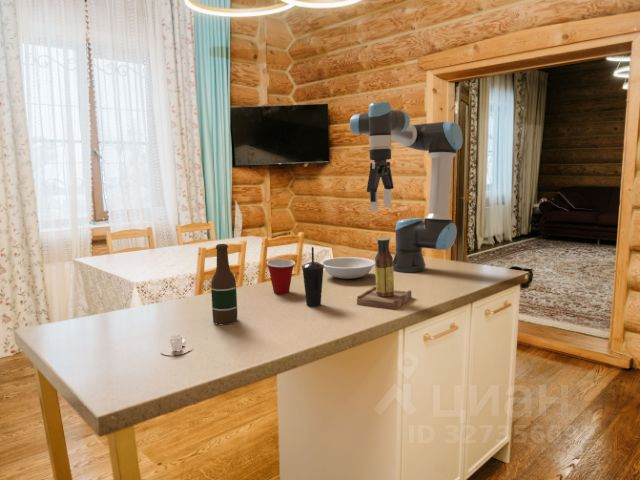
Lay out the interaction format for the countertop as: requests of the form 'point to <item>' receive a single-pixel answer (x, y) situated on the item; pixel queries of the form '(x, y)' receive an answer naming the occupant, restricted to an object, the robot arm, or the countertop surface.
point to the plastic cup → (281, 274)
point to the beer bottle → (223, 289)
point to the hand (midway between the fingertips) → (381, 209)
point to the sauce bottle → (384, 269)
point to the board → (383, 299)
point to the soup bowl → (348, 267)
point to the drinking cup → (313, 282)
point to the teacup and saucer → (177, 342)
